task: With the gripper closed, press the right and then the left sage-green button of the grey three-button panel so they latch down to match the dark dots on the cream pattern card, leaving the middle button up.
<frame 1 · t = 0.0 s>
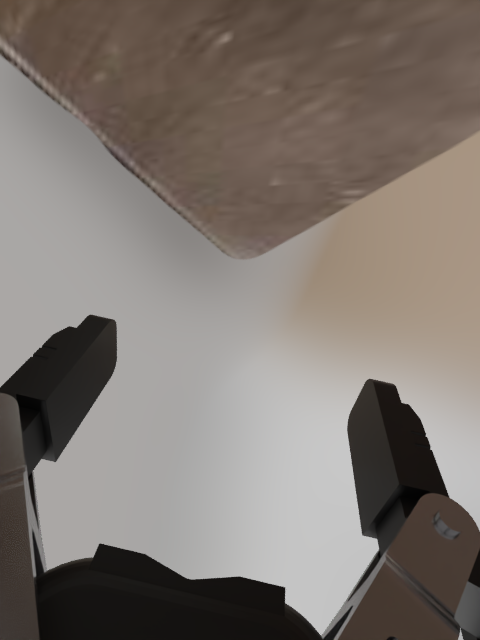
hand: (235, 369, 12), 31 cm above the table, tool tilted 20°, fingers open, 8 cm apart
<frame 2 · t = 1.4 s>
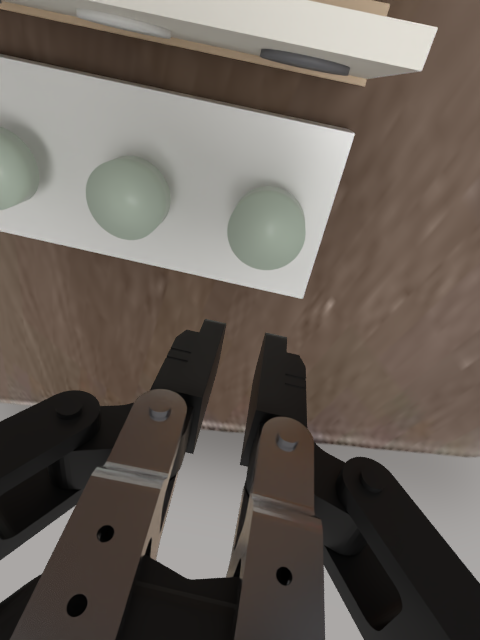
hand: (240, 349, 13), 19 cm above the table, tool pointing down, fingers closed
pattern card: (168, 25, 23), on the table
button middle: (129, 198, 23), point 6 cm above the table, slide at 2.0 cm
button panel: (160, 178, 29), on the table
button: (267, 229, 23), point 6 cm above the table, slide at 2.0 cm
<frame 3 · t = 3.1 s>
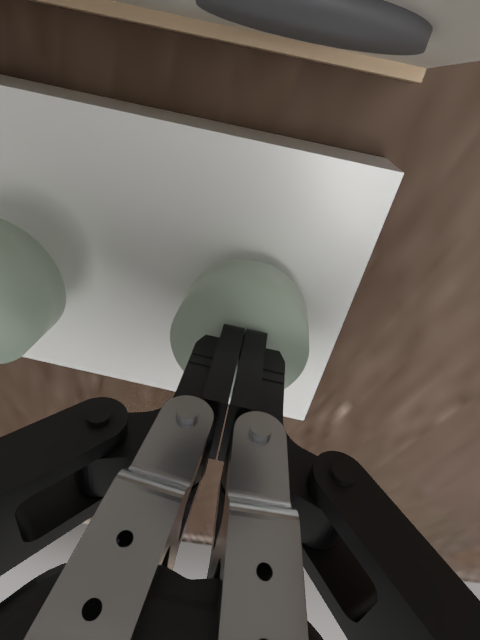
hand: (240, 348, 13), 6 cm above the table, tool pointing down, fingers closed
button panel: (74, 231, 18), on the table
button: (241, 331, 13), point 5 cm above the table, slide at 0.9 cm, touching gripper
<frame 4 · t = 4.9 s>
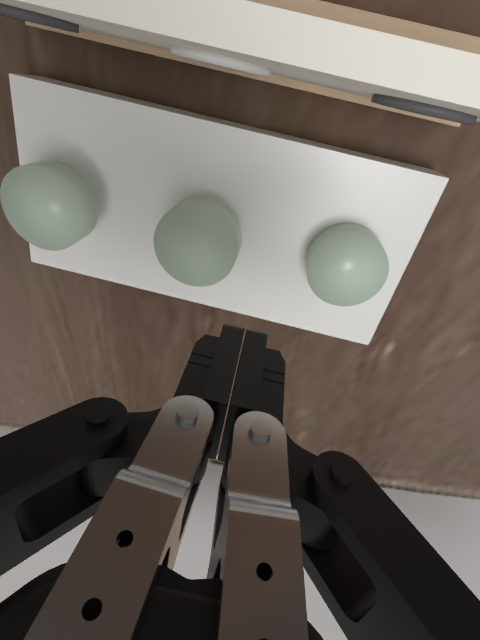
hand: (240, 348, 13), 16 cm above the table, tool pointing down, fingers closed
pattern card: (245, 56, 22), on the table
button middle: (199, 242, 21), point 6 cm above the table, slide at 2.0 cm
button panel: (219, 213, 27), on the table
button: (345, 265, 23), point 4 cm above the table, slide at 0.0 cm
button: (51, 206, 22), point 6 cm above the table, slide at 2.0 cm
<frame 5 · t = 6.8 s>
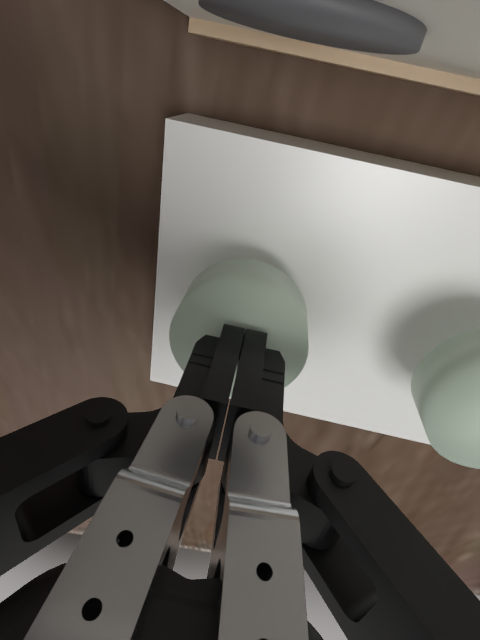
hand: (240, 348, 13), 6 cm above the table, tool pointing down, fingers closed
button panel: (435, 308, 18), on the table
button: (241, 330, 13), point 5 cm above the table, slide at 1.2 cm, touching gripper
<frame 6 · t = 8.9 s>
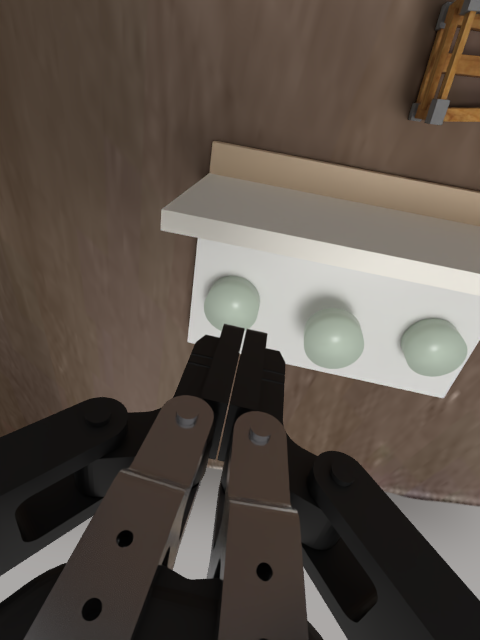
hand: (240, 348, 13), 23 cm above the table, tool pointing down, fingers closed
pattern card: (360, 207, 31), on the table
button middle: (332, 338, 31), point 6 cm above the table, slide at 2.0 cm
button panel: (328, 304, 36), on the table
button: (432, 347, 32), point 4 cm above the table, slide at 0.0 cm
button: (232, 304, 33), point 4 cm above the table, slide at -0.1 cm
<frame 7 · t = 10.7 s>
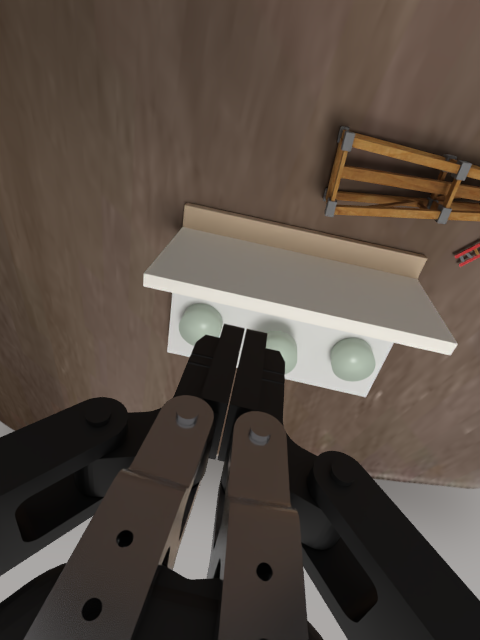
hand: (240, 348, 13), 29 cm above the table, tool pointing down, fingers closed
pattern card: (297, 254, 41), on the table
button middle: (275, 353, 41), point 6 cm above the table, slide at 2.0 cm
button panel: (278, 323, 46), on the table
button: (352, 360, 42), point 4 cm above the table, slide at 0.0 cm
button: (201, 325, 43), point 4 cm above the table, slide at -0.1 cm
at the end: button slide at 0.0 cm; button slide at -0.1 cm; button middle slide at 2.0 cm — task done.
